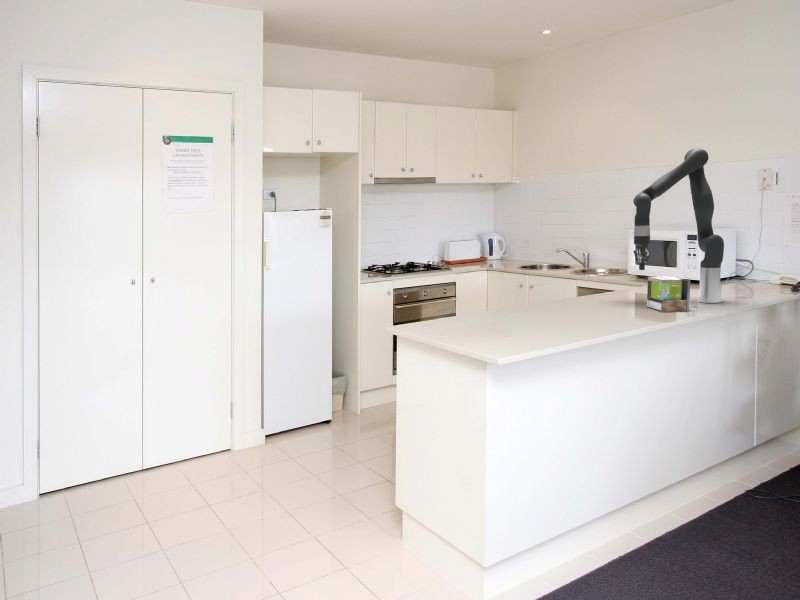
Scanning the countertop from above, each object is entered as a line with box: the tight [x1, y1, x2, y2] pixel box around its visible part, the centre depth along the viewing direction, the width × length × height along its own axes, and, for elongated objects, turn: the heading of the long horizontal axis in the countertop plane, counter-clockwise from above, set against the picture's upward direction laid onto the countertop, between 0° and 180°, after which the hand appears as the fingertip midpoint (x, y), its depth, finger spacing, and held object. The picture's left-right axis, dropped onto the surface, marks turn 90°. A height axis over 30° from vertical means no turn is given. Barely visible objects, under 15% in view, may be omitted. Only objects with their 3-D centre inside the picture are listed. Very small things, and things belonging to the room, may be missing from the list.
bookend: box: [677, 277, 691, 312], centre depth 323 cm, size 1×13×14 cm, turn 9°
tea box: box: [646, 275, 683, 312], centre depth 325 cm, size 15×10×15 cm, turn 5°
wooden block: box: [661, 300, 688, 313], centre depth 318 cm, size 12×1×5 cm, turn 99°
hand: (641, 269), depth 344 cm, fingers closed
